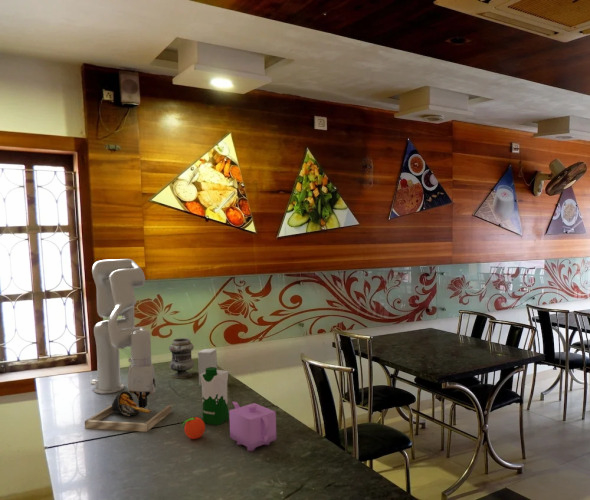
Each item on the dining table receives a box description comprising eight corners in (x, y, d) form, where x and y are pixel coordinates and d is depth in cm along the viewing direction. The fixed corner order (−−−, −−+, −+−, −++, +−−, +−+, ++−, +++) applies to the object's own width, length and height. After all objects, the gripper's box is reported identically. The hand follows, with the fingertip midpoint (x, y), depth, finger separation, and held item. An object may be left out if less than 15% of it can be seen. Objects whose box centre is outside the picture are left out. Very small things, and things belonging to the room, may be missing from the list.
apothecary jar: (181, 380, 229) (180, 343, 228) (164, 377, 235) (163, 340, 235) (199, 374, 239) (198, 338, 238) (182, 371, 245) (181, 336, 245)
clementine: (184, 444, 156) (183, 423, 156) (179, 437, 163) (178, 416, 162) (208, 439, 160) (207, 418, 160) (202, 432, 166) (201, 412, 166)
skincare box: (211, 386, 218) (210, 352, 218) (197, 386, 219) (196, 352, 219) (218, 381, 226) (217, 348, 226) (204, 380, 228) (204, 348, 227)
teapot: (281, 446, 153) (280, 408, 153) (255, 456, 147) (254, 416, 146) (245, 429, 168) (244, 393, 168) (221, 437, 162) (220, 400, 161)
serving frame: (84, 428, 173) (84, 421, 173) (114, 408, 192) (114, 402, 192) (146, 431, 168) (146, 424, 168) (171, 411, 187) (171, 405, 187)
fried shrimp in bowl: (121, 395, 194) (158, 384, 189) (122, 423, 189) (160, 412, 184) (105, 393, 186) (143, 381, 181) (106, 423, 181) (144, 411, 176)
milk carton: (198, 423, 174) (197, 369, 174) (213, 414, 183) (211, 363, 182) (219, 426, 171) (217, 371, 170) (232, 418, 179) (231, 365, 178)
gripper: (118, 363, 187) (120, 410, 187) (154, 364, 184) (155, 411, 184) (129, 358, 194) (130, 403, 194) (163, 359, 191) (164, 405, 192)
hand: (142, 407), depth 189 cm, fingers closed
